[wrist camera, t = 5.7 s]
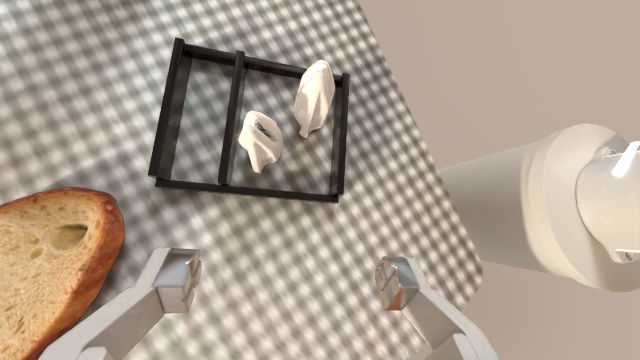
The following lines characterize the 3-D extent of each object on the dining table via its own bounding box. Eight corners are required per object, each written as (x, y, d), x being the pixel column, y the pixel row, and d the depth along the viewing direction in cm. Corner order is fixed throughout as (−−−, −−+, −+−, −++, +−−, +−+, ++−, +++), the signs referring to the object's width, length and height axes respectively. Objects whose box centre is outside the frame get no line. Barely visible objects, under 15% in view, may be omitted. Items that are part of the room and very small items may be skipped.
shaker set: (314, 93, 30) (342, 23, 19) (335, 119, 30) (374, 64, 19) (234, 147, 27) (213, 99, 16) (257, 176, 27) (252, 147, 16)
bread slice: (-100, 476, 17) (-195, 543, 14) (-140, 240, 19) (-236, 245, 15) (166, 358, 22) (146, 385, 19) (117, 176, 24) (91, 169, 20)
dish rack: (342, 81, 31) (350, 67, 28) (335, 203, 28) (343, 202, 25) (185, 50, 27) (176, 30, 24) (159, 188, 24) (145, 184, 21)
